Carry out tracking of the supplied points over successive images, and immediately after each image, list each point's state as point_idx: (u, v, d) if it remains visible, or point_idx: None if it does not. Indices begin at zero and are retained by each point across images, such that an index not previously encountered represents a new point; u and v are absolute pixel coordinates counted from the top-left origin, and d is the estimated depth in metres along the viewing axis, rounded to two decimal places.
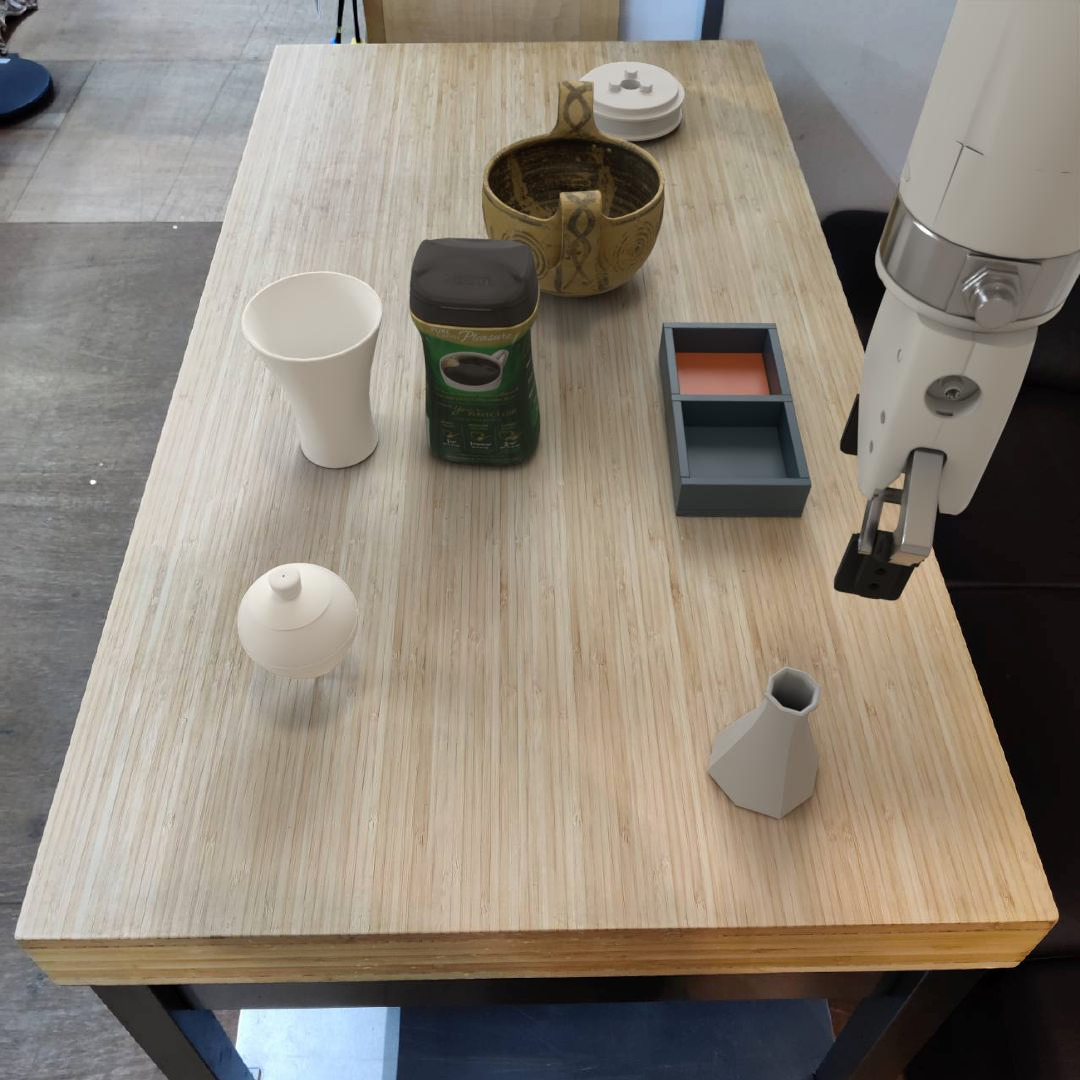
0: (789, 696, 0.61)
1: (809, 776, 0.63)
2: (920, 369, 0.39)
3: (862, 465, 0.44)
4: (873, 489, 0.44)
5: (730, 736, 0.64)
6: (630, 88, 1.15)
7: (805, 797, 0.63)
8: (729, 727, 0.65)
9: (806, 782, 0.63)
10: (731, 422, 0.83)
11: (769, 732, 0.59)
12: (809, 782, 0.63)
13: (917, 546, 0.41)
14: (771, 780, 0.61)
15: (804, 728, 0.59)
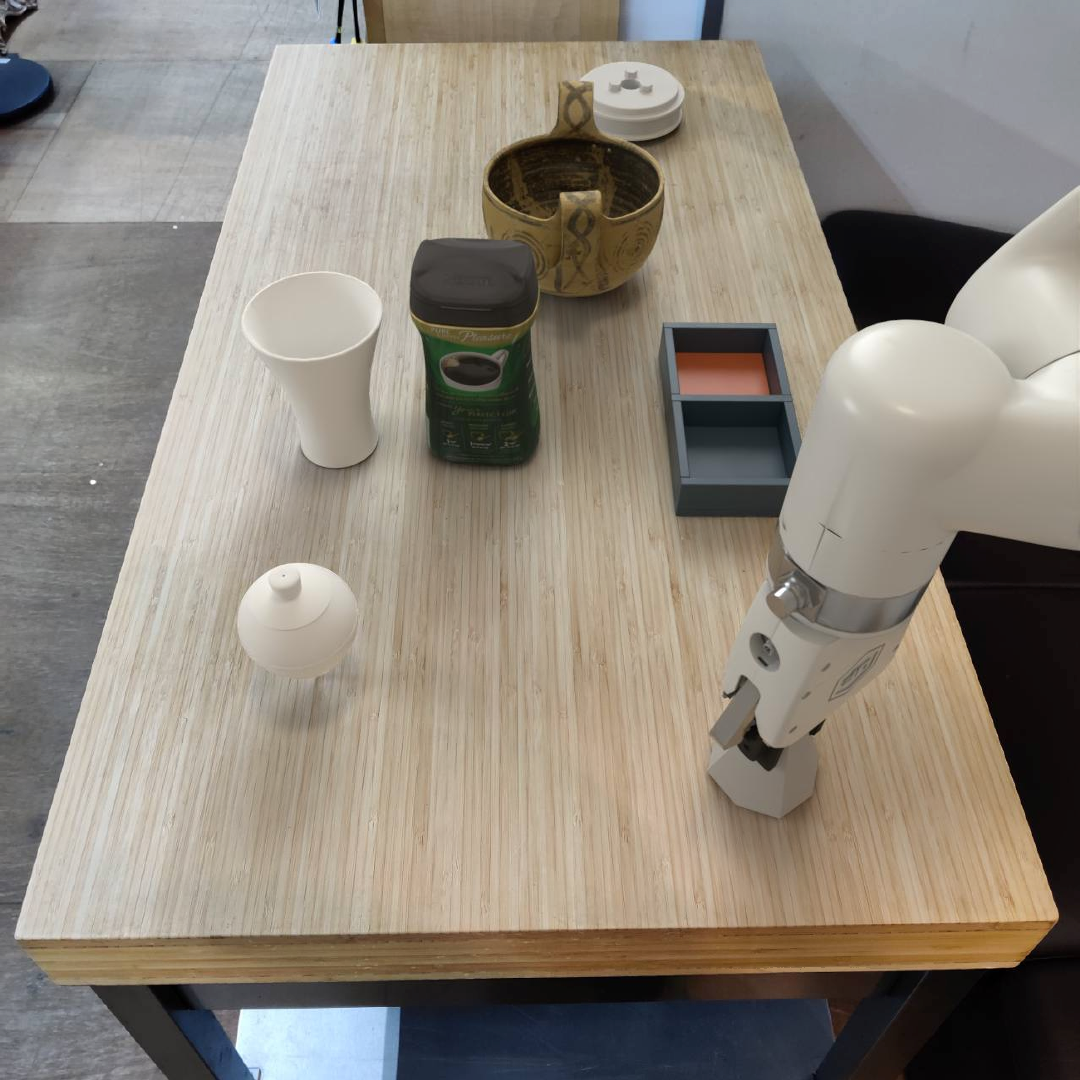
0: None
1: (809, 776, 0.63)
2: (751, 618, 0.49)
3: None
4: None
5: None
6: (630, 88, 1.15)
7: (805, 797, 0.63)
8: None
9: (806, 782, 0.63)
10: (731, 422, 0.83)
11: None
12: (809, 782, 0.63)
13: (716, 741, 0.54)
14: (771, 780, 0.61)
15: None
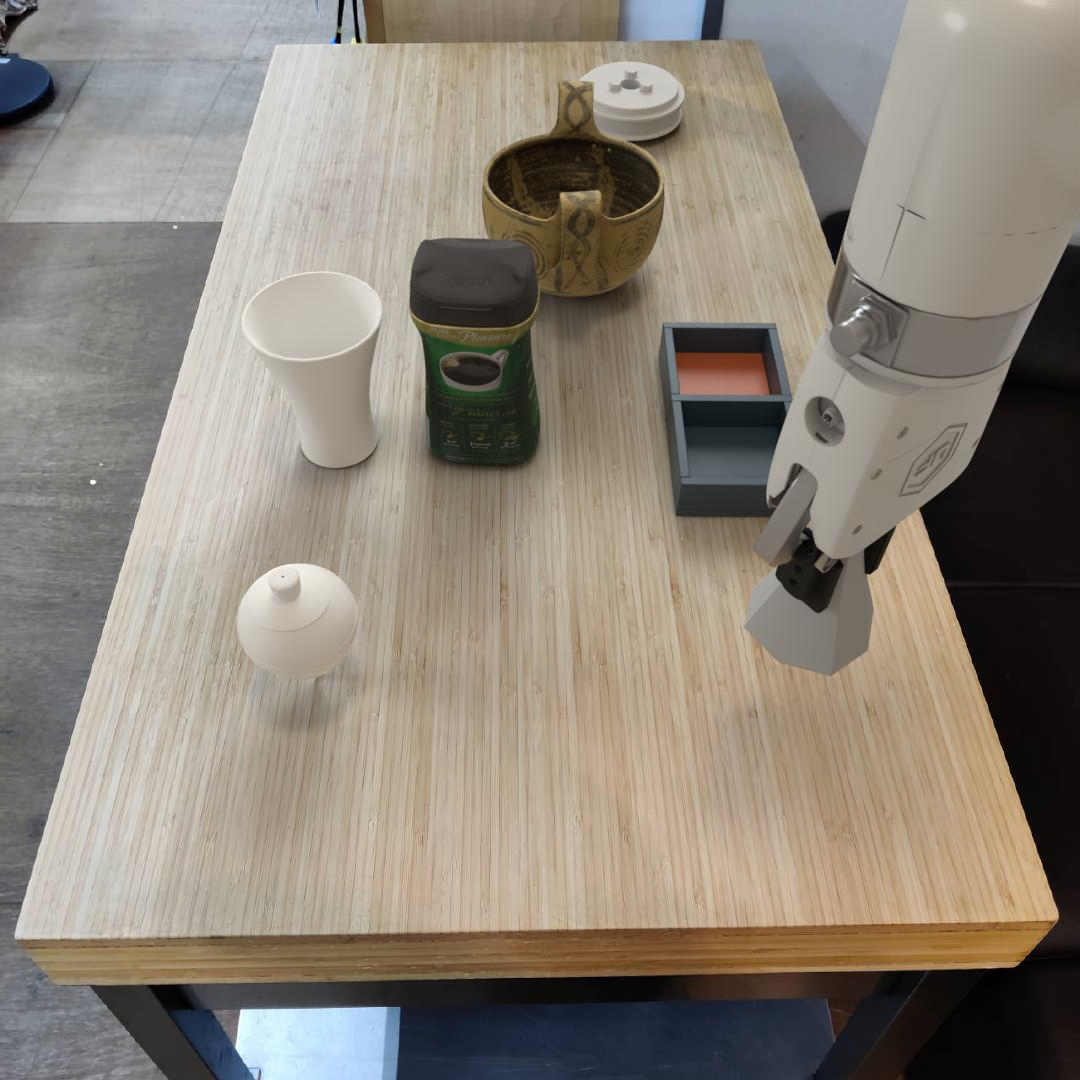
0: None
1: (865, 625, 0.53)
2: (806, 382, 0.40)
3: None
4: None
5: (770, 583, 0.55)
6: (630, 88, 1.15)
7: (860, 652, 0.54)
8: (769, 575, 0.55)
9: (861, 633, 0.53)
10: (731, 422, 0.83)
11: None
12: (865, 633, 0.54)
13: (762, 555, 0.45)
14: (821, 627, 0.52)
15: (861, 559, 0.50)
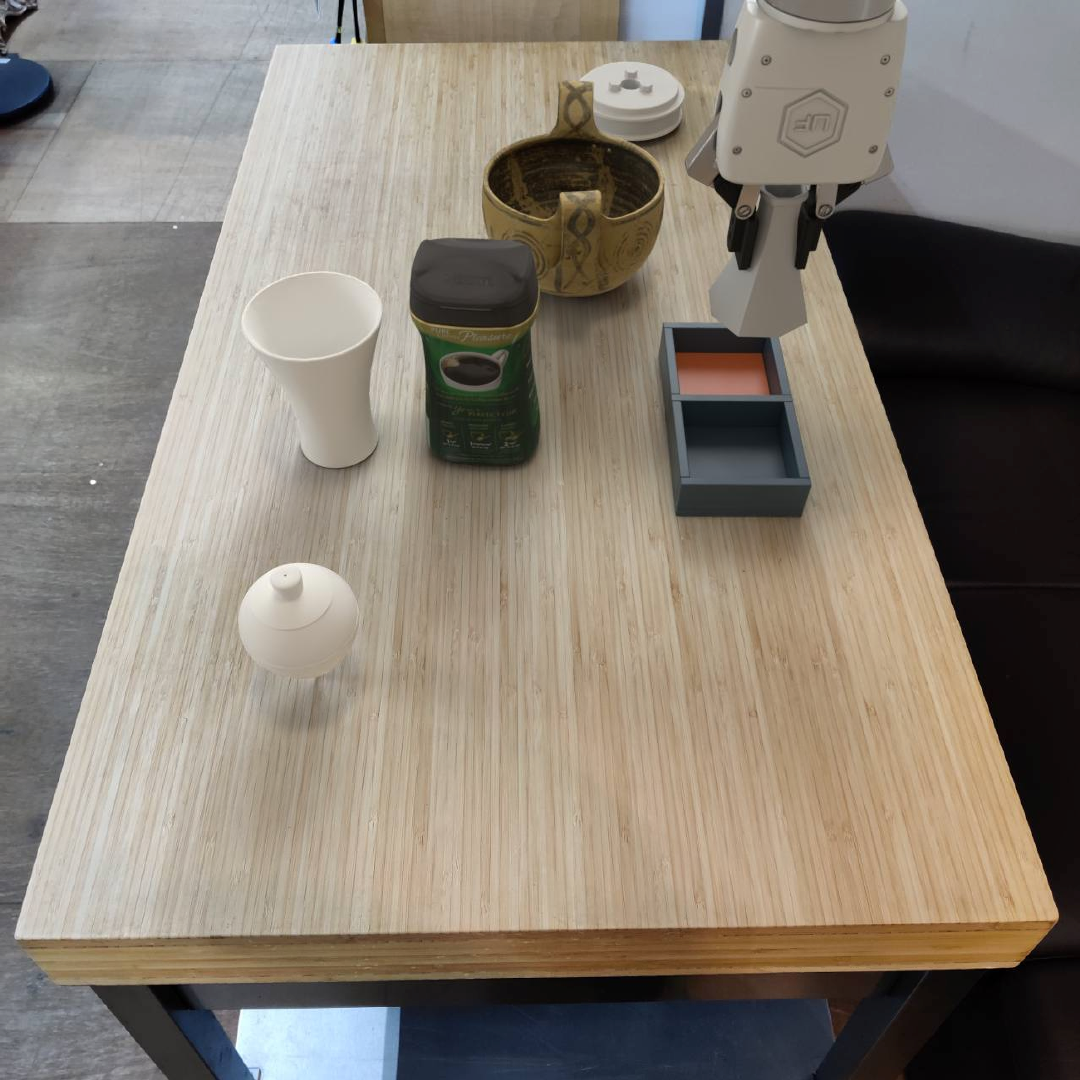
0: None
1: (779, 310, 0.68)
2: None
3: None
4: None
5: None
6: (630, 88, 1.15)
7: (770, 333, 0.69)
8: None
9: (774, 314, 0.69)
10: (731, 422, 0.83)
11: None
12: (778, 317, 0.69)
13: (686, 165, 0.63)
14: (742, 289, 0.68)
15: (783, 237, 0.65)
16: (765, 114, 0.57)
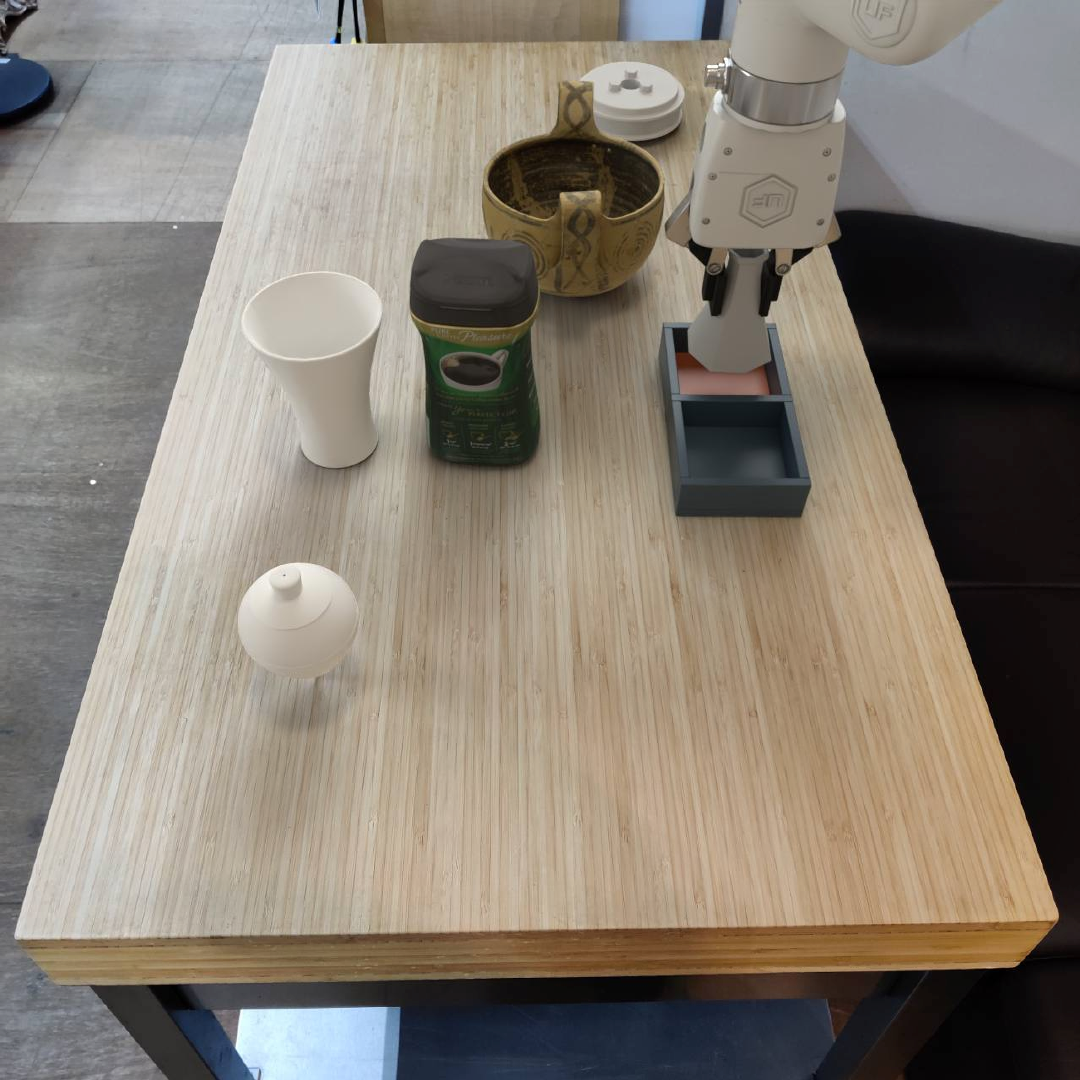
0: None
1: (745, 350, 0.80)
2: None
3: None
4: None
5: None
6: (630, 88, 1.15)
7: (738, 369, 0.81)
8: None
9: (741, 354, 0.80)
10: (731, 422, 0.83)
11: None
12: (744, 356, 0.80)
13: (665, 229, 0.74)
14: (714, 332, 0.80)
15: (748, 290, 0.77)
16: (728, 193, 0.69)
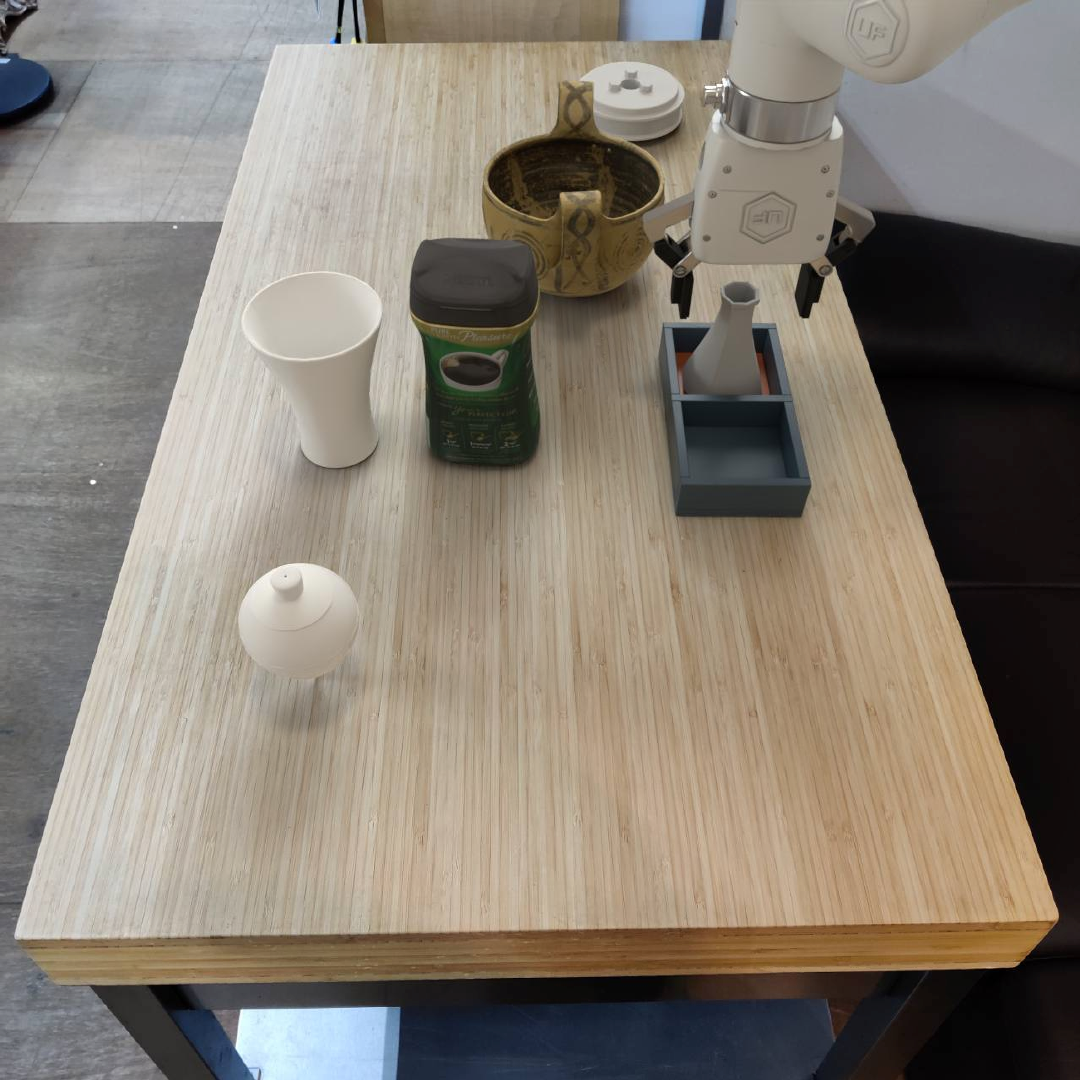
0: None
1: (738, 388, 0.83)
2: None
3: None
4: None
5: None
6: (630, 88, 1.15)
7: None
8: None
9: (734, 392, 0.83)
10: (731, 422, 0.83)
11: (716, 325, 0.81)
12: (737, 394, 0.84)
13: (644, 219, 0.73)
14: (708, 371, 0.83)
15: (740, 332, 0.80)
16: (728, 210, 0.70)
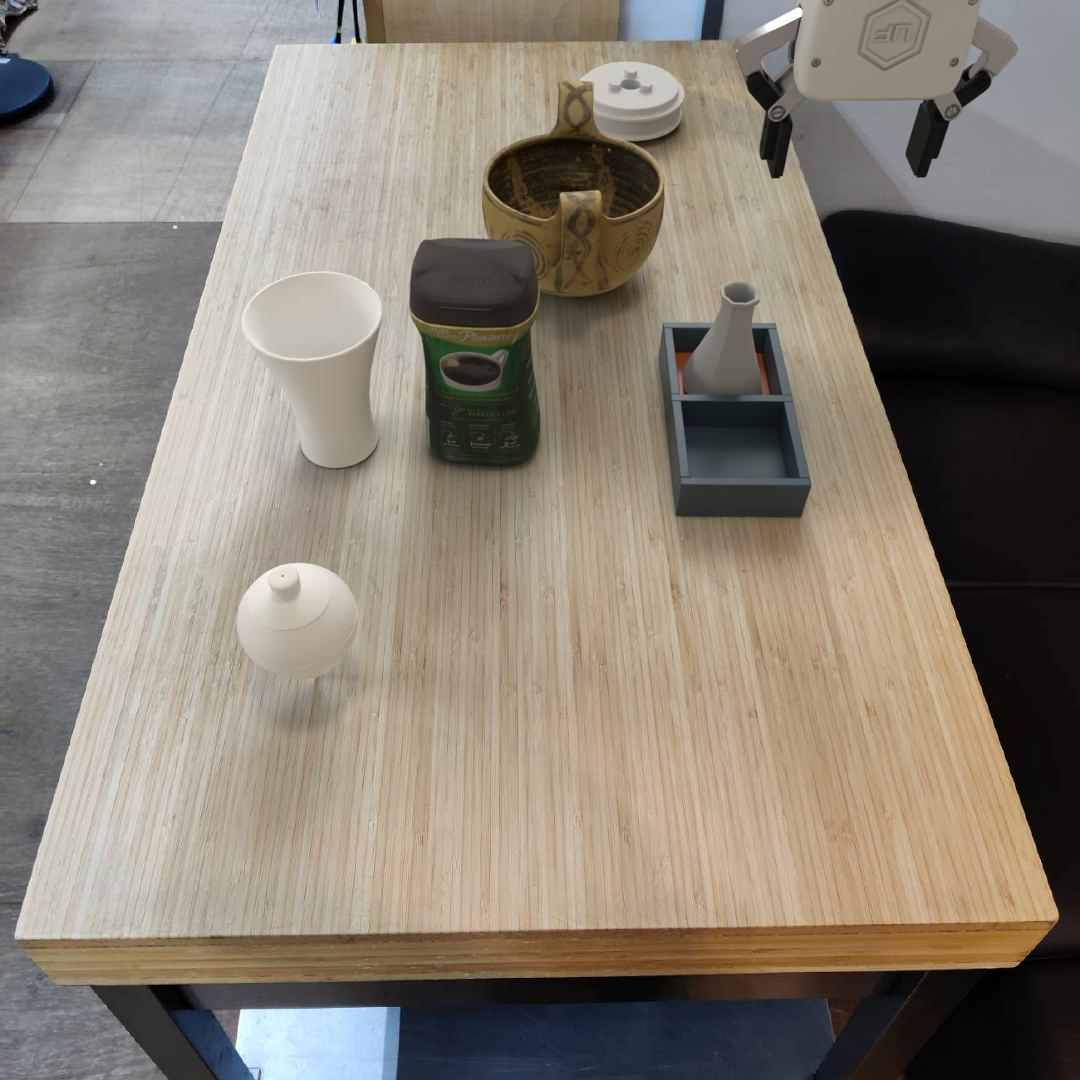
0: None
1: (738, 388, 0.83)
2: None
3: None
4: (788, 45, 0.62)
5: None
6: (630, 88, 1.15)
7: None
8: None
9: (734, 392, 0.83)
10: (731, 422, 0.83)
11: (716, 325, 0.81)
12: (737, 394, 0.84)
13: (737, 44, 0.61)
14: (708, 371, 0.83)
15: (740, 332, 0.80)
16: (846, 23, 0.57)
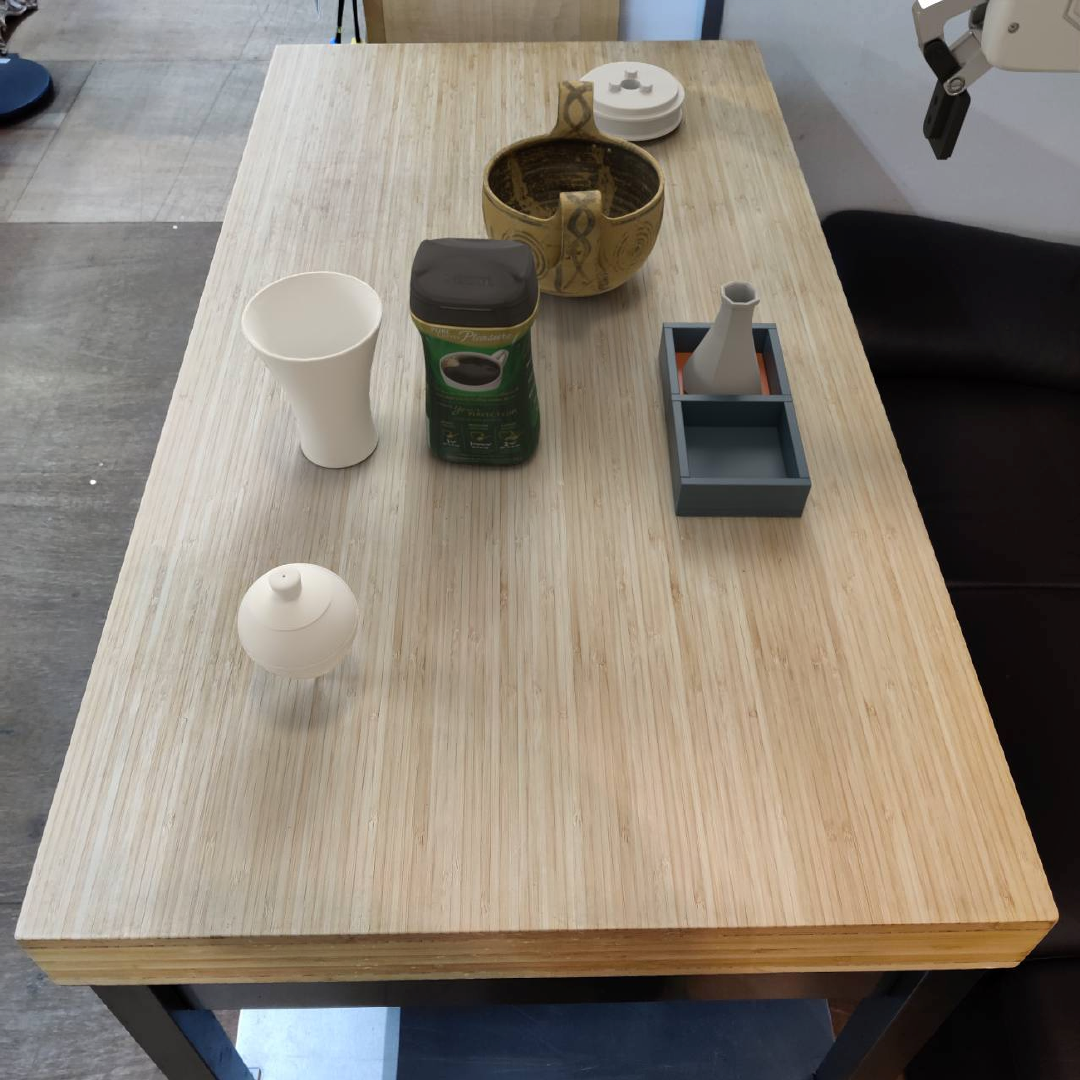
0: None
1: (738, 388, 0.83)
2: None
3: None
4: None
5: None
6: (630, 88, 1.15)
7: None
8: None
9: (734, 392, 0.83)
10: (731, 422, 0.83)
11: (716, 325, 0.81)
12: (737, 394, 0.84)
13: (918, 6, 0.54)
14: (708, 371, 0.83)
15: (740, 332, 0.80)
16: None
